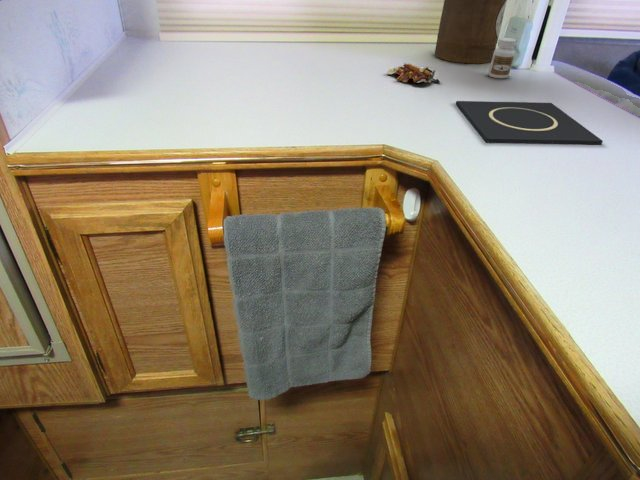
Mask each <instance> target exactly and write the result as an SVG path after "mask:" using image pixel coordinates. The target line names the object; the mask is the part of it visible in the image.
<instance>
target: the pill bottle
mask: <svg viewBox="0 0 640 480" xmlns="http://www.w3.org/2000/svg"><path fill="white" fill-rule="evenodd" d="M516 41H517V40H516V38H511V37H499V38H498V41H497V48H496V49H495V51H494V53H493V57H492V61H490V66H489V69H488V76H489V77H491V78H494V79H507V78H509V76H510V73H511V69H512V65H513V62H514V59H515V56H516V54H515V53H516V52H515V50H514V48H515V45H516Z"/></svg>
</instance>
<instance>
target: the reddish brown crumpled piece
mask: <svg viewBox="0 0 640 480" xmlns="http://www.w3.org/2000/svg"><path fill="white" fill-rule="evenodd" d="M436 71H437V69H434V68H431V67H428V66H426V67H422V66H421V67H418V66H415V65H414V64H413V65H412V64H411V63H406V62H404V63H403V65H401V66H400V65H399V66H394V67H392V68H391V69H388V71H386V75H393V74H396V75H399V76H398V77H397V78H396V82H400V81H401V82H403V83H408V81H409V79H413V83H422V82H423V83H431V82H432V81H433V82H437V83H438V84H440V83H441V80H440V79H439V78H436V79H435V78H434V77H435V73H436Z"/></svg>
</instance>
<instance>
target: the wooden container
mask: <svg viewBox="0 0 640 480" xmlns="http://www.w3.org/2000/svg"><path fill="white" fill-rule="evenodd" d="M507 2H508V0H443V6H442V10H441V16H440V20H439V25H438V32H437V37H436V42H435V49H434V56H435V57H436V58H438V59H440V60H444V61H447V62H451V63H458V64H468V65H470V64H471V65H473V64H476V65H479V64H486V63H491V61H492V57H493V53H494V51H495V49H497V48H496V47H497V45H498V42H499V38H500V33H501V29H502V24H503V19H504V15H505V10H506V6H507Z"/></svg>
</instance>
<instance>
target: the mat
mask: <svg viewBox="0 0 640 480" xmlns="http://www.w3.org/2000/svg"><path fill="white" fill-rule="evenodd" d="M455 105H456V106H457V107H458V109H459V110H460V111H461V112H462V114H463V116H465V118H466V119H467V120H468V122H469V123H470V124H471V125H472V126H473V128H474V129H475V130H476V132H477V133H478V134H479V135H480V136H481V138H482V139H483V140H484V142H485V143H494V144H495V143H503V144H551V145H552V144H553V145H554V144H557V145H558V144H559V145H602V144H603V140H602V139H601V138H600V137H598V136H597V135H596V134H594V133H593V132H592V131H590V130H589V129H588V128H586V127H585V126H584V125H582V124H581V123H580V122H578V121H577V120H575V119H574V118H573V117H571V115H569V114H567V113H566V112H564V111H563V110H562V109H560V107H558V106H557V105H555V104H553V103H552V102H538V101H537V102H534V101H533V102H530V101H529V102H527V101H486V100H485V101H482V100H481V101H479V100H478V101H477V100H456V101H455Z"/></svg>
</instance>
